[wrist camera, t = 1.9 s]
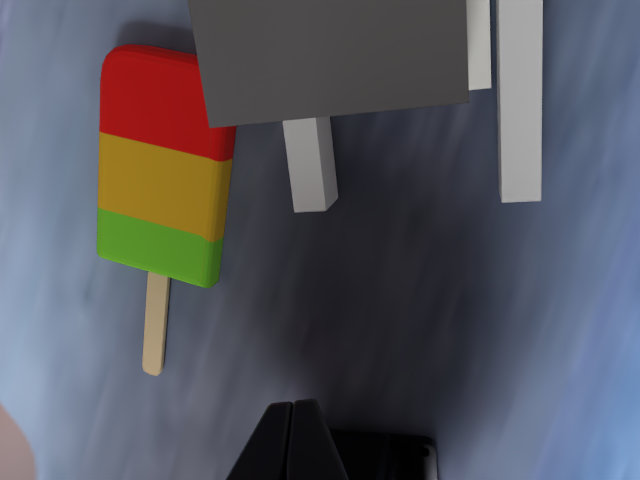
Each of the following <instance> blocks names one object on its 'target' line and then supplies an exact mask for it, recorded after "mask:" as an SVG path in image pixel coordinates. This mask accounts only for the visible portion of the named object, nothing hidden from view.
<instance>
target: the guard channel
mask: <svg viewBox="0 0 640 480" xmlns="http://www.w3.org/2000/svg"><path fill="white" fill-rule="evenodd" d="M466 9H467V42H468V75H469V90H476V89H486V88H491V52H490V0H466ZM542 30H543V0H496V60H497V124H498V188H499V193H500V197H501V201H502V203H506V202H528V201H541V155H542ZM283 129H284V136H285V144H286V152H287V159H288V167H289V175H290V182H291V190H292V198H293V206H294V212H313V211H326V210H327V209H328V208H329V207H330V206H331V205H332V204H333V203H334V202H335V201H336V200H337V199H338V190H337V180H336V171H335V161H334V152H333V142H332V133H331V123H330V116H328V117H318V118H308V119H298V120H288V121H283Z"/></svg>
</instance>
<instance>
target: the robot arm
mask: <svg viewBox="0 0 640 480" xmlns="http://www.w3.org/2000/svg"><path fill="white" fill-rule="evenodd" d="M421 447H425V448H427V449H428V451H423V450H421V449H420V448H421ZM226 480H438V470H437V453H436V445H435V443H434V441H433V440H432V439H430V438H428V437H424V436H411V435H397V434H384V433H371V432H357V431H343V430H329V429H328V426H327V424H326V421H325V419H324V416H323V414H322V411H321V409H320V406H319V404H318V402H317V400H316V399H305V400H297V401H295V402H294V404H293V403H292V402H289V401H288V402H279V403H272V404H270V405H269V406H268V407H267V409H266V410H265V412H264V414H263V416H262V417H261V419H260V421H259V423H258V424H257V426H256V428H255V430H254V431H253V433H252V435H251V436H250V438H249V440H248V442H247V443H246V445H245V447H244V449H243V450H242V452H241V454H240V455H239V457H238V459H237V461H236V462H235V464H234V466H233V468H232V469H231V471H230V473H229V475H228V476H227V478H226Z"/></svg>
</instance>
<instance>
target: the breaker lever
mask: <svg viewBox="0 0 640 480" xmlns="http://www.w3.org/2000/svg"><path fill="white" fill-rule="evenodd" d="M188 5H189V11H190V17H191V23H192V28H193V34H194V40H195V46H196V52H197V58H198V64H199V70H200V76H201V81H202V87H203V93H204V99H205V105H206V111H207V117H208V123H209V128H216V127H226V126H236V125H247V124H257V123H267V122H277V121H288V120H298V119H308V118H318V117H328V116H339V115H349V114H359V113H369V112H380V111H390V110H400V109H410V108H421V107H431V106H441V105H451V104H461V103H469V75H468V42H467V9H466V0H188Z"/></svg>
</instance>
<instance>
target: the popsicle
mask: <svg viewBox="0 0 640 480" xmlns="http://www.w3.org/2000/svg"><path fill="white" fill-rule="evenodd" d="M137 48H138V49H137ZM191 59H192V60H191ZM236 126H237V125H236ZM236 126H226V127H216V128H209V123H208V117H207V111H206V105H205V99H204V93H203V87H202V81H201V76H200V70H199V64H198V58H197V55H194V54H189V53H184V52H179V51H174V50H169V49H164V48H160V47H155V46H149V45H134V44H127V45H122V46H119V47H115V48H114V49H113V50H112V51H111V52H110V53H109V54H108V55H106V57H105V60H104V62H103V65H102V72H101V82H100V126H99V170H98V215H97V253H98V255H99V256H100V257H102V258H104V259H108V260H111V261H114V262H118V263H121V264H125V265H128V266H132V267H135V268H139V269H142V270H146V271H148V282H147V298H146V314H145V330H144V347H143V363H142V366H143V369H144V371H145V372H147V373H148V374H151V375H158V374H160V373H161V372H162V370H163V363H164V351H165V338H166V325H167V312H168V300H169V287H170V278H173V279H177V280H180V281H184V282H187V283H191V284H194V285H197V286H201V287H204V288H210V287H212V286H213V285H214V284H216V283H217V282H218V281H219V273H220V264H221V256H222V247H223V238H224V230H225V221H226V212H227V204H228V195H229V186H230V178H231V169H232V160H233V152H234V143H235V134H236ZM134 140H135V141H134ZM159 146H160V147H159Z"/></svg>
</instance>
